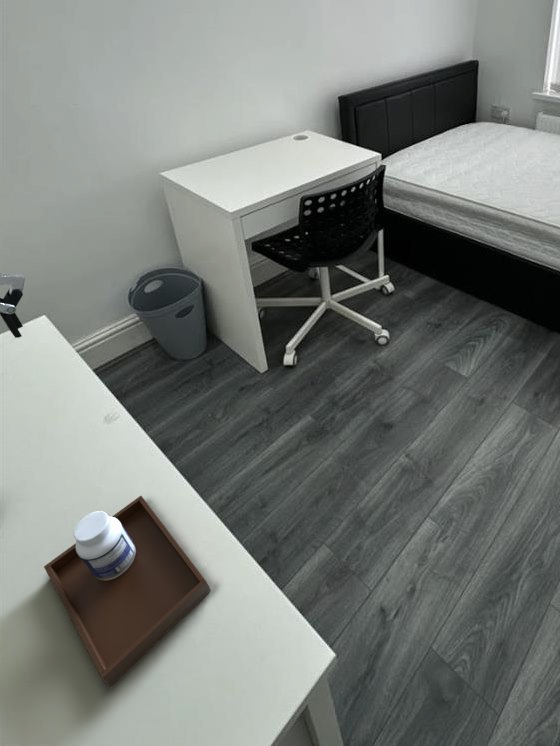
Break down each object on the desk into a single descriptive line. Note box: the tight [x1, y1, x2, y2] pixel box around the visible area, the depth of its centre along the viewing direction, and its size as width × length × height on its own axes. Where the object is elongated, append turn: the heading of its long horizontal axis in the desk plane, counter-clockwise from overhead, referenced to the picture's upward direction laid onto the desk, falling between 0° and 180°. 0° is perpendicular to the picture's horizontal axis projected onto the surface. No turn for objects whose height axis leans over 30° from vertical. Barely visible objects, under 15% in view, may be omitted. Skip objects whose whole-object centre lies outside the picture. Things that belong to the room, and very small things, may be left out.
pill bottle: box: [73, 510, 136, 581], centre depth 66 cm, size 5×5×10 cm
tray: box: [43, 495, 212, 687], centre depth 66 cm, size 19×13×3 cm
